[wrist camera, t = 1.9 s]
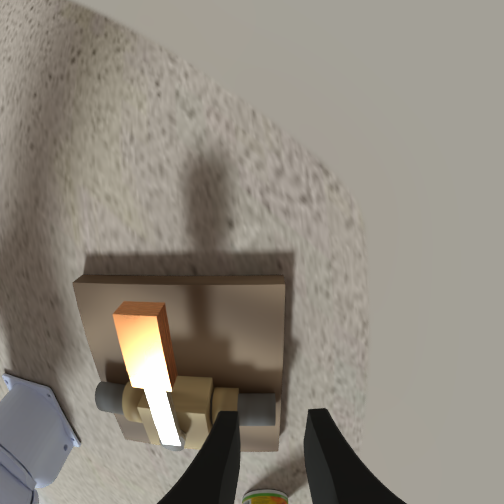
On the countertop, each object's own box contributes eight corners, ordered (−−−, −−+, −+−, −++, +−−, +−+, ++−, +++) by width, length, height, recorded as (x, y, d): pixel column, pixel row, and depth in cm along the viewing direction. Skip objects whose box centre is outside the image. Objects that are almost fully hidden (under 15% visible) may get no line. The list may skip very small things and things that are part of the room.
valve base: (277, 439, 24) (279, 483, 19) (129, 428, 24) (113, 467, 19) (283, 274, 19) (290, 313, 14) (83, 274, 20) (43, 305, 15)
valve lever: (193, 441, 17) (189, 457, 16) (161, 438, 17) (156, 453, 16) (165, 302, 14) (156, 316, 13) (123, 301, 14) (112, 314, 13)
